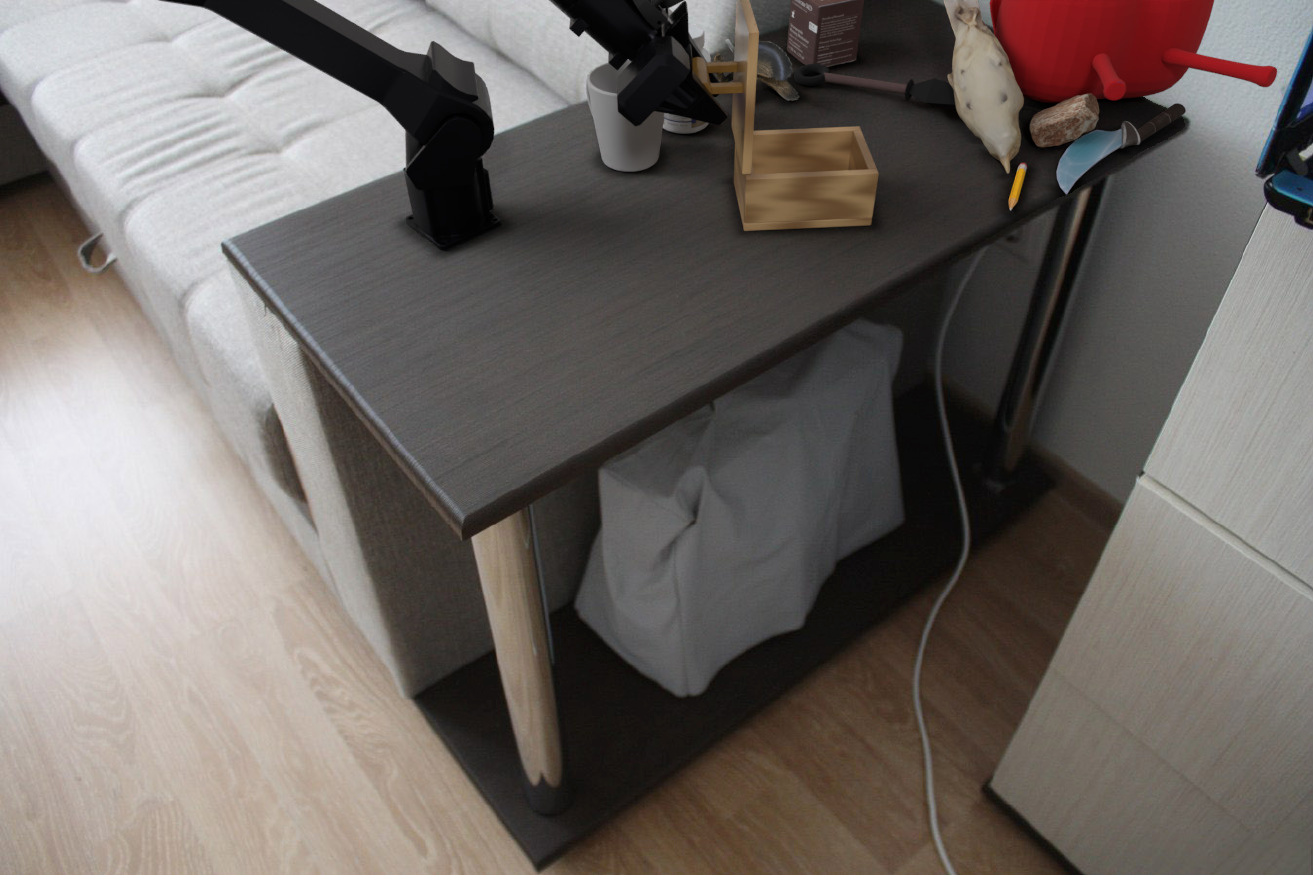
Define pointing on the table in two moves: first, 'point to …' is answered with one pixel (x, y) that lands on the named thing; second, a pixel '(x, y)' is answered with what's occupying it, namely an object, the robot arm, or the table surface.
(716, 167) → the table surface
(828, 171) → the box
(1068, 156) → the knife
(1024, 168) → the pencil
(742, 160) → the lid
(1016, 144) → the sculpture
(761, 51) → the eagle figurine
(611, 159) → the cup
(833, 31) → the box
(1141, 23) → the novelty television
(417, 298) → the table surface
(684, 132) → the pill bottle
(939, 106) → the kunai knife
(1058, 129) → the stone
